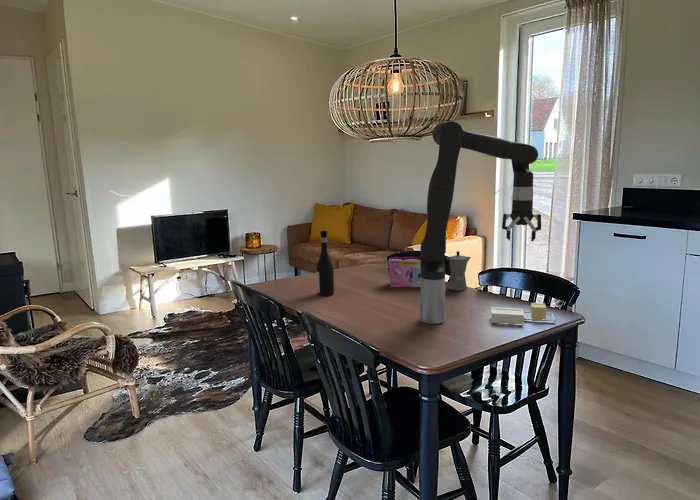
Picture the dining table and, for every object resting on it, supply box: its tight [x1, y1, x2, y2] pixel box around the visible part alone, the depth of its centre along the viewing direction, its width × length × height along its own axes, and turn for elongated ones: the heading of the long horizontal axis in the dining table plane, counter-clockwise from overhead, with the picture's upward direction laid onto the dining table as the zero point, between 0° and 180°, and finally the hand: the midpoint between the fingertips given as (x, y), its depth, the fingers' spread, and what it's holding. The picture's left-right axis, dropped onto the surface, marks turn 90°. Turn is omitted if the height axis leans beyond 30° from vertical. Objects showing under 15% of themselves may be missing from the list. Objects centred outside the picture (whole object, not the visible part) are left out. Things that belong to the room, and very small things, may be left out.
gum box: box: [387, 256, 421, 288], centre depth 251 cm, size 24×8×14 cm, turn 86°
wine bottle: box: [315, 230, 335, 297], centre depth 236 cm, size 8×8×30 cm
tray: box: [523, 310, 556, 323], centre depth 197 cm, size 11×10×1 cm
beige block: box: [530, 302, 547, 320], centre depth 197 cm, size 5×6×5 cm
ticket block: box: [490, 306, 524, 326], centre depth 194 cm, size 12×10×4 cm
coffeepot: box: [445, 250, 472, 291], centre depth 242 cm, size 15×9×18 cm, turn 104°
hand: (520, 240), depth 197 cm, fingers open, 8 cm apart
